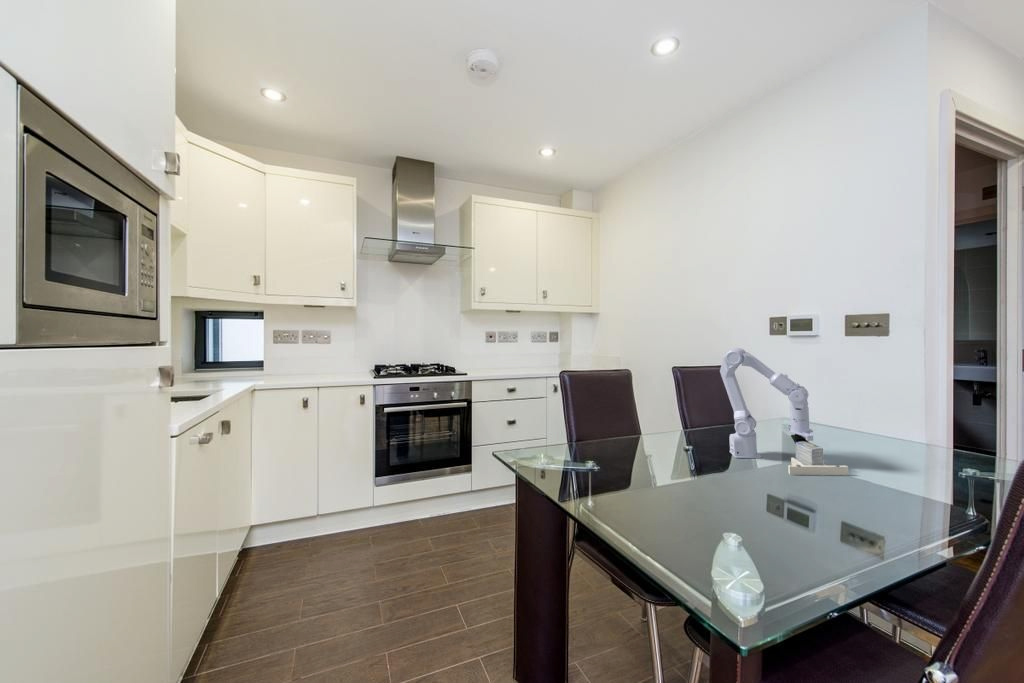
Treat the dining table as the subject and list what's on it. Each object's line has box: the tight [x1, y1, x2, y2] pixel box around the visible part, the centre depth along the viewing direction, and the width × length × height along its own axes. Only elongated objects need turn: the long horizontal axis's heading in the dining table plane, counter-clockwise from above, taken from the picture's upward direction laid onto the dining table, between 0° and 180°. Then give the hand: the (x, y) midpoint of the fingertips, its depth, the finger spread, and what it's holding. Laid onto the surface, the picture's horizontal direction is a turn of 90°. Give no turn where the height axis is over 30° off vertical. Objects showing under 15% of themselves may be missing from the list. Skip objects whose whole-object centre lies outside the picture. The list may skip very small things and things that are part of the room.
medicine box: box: [795, 441, 824, 466], centre depth 145 cm, size 8×4×9 cm, turn 2°
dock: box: [787, 457, 849, 476], centre depth 144 cm, size 18×11×3 cm, turn 77°
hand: (801, 453), depth 151 cm, fingers closed
